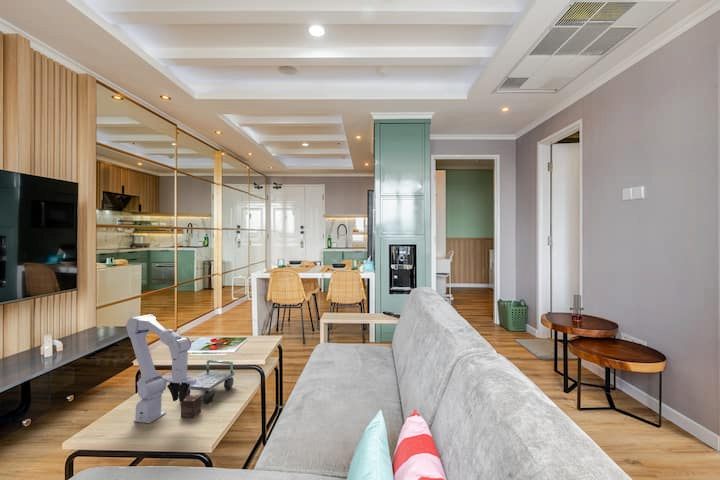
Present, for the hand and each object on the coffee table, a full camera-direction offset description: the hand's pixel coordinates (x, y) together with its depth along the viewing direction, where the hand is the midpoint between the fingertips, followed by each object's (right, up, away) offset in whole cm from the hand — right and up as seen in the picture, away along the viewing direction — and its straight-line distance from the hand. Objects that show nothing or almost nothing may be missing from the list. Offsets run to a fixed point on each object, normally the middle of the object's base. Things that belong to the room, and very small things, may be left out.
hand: (178, 400), depth 143 cm
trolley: (-1, -11, +29) cm, 31 cm away
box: (+1, -10, +7) cm, 13 cm away
